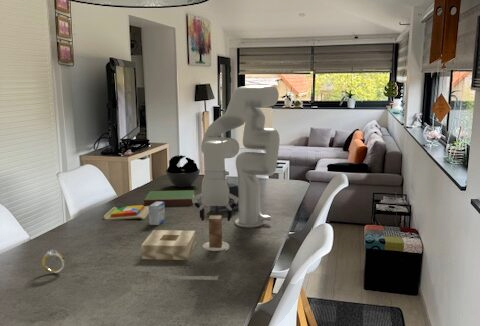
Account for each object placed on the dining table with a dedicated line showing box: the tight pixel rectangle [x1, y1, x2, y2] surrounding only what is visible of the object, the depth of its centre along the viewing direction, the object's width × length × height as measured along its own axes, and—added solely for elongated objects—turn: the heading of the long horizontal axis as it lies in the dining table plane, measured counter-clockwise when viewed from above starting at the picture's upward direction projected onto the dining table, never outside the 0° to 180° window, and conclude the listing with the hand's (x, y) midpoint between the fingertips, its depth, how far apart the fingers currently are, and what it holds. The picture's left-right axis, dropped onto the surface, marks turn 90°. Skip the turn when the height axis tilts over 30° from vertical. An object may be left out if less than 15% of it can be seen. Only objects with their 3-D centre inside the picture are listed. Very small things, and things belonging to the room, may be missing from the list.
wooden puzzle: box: [103, 204, 149, 221], centre depth 211 cm, size 18×19×4 cm
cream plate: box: [202, 240, 230, 252], centre depth 166 cm, size 10×10×1 cm
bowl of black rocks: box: [165, 154, 201, 188], centre depth 264 cm, size 20×20×19 cm
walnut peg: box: [208, 215, 223, 248], centre depth 165 cm, size 4×4×11 cm
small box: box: [210, 182, 239, 215], centre depth 216 cm, size 13×7×12 cm, turn 123°
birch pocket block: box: [140, 229, 197, 261], centre depth 161 cm, size 16×16×6 cm
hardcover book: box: [143, 189, 195, 207], centre depth 234 cm, size 25×19×4 cm
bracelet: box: [41, 249, 66, 274], centre depth 145 cm, size 7×3×8 cm, turn 86°
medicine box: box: [148, 202, 166, 226], centre depth 197 cm, size 8×4×9 cm, turn 168°
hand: (216, 219), depth 165 cm, fingers open, 9 cm apart
